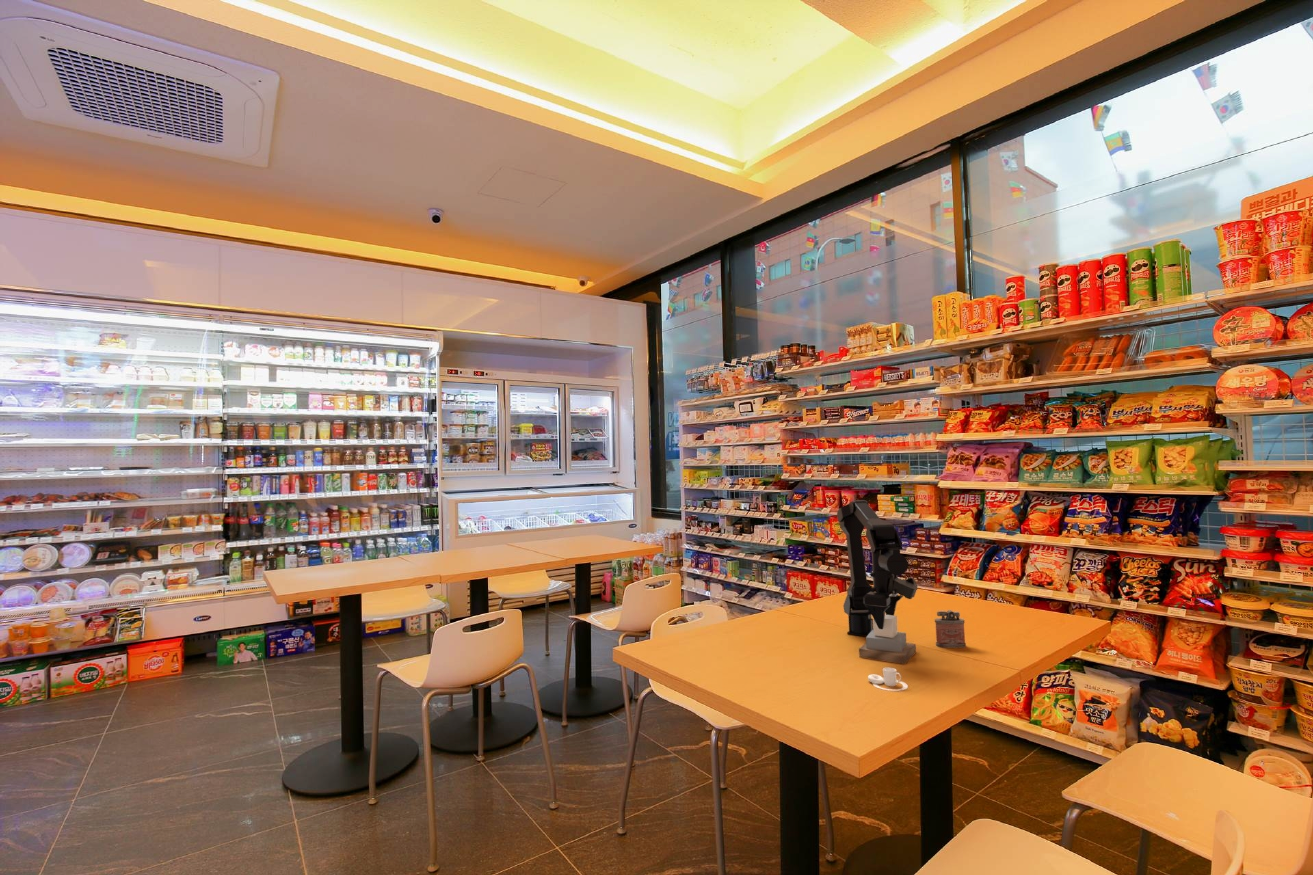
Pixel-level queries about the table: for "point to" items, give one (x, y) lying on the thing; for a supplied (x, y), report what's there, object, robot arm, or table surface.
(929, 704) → the table surface
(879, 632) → the cube
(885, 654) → the base block
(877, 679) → the teacup and saucer
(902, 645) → the top block
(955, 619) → the lighter
